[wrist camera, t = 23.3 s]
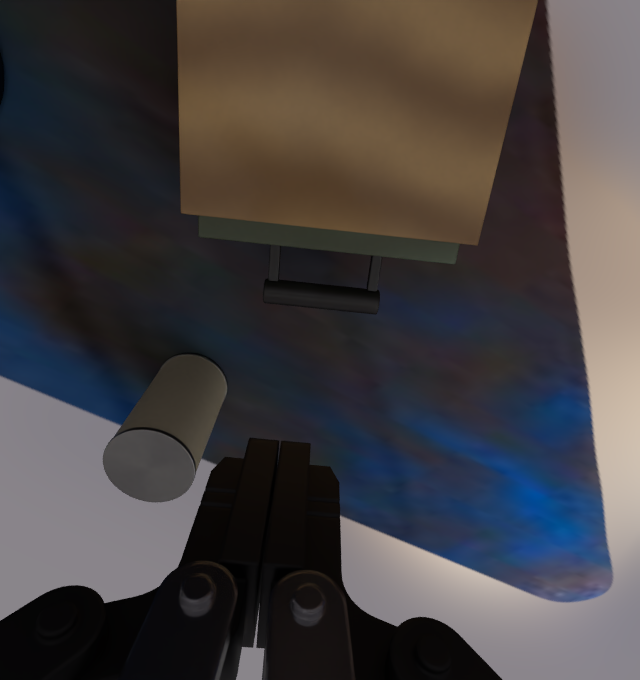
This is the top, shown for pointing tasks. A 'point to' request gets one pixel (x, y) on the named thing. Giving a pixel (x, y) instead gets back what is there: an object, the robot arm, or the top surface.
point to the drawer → (327, 241)
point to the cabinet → (347, 111)
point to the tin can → (167, 430)
